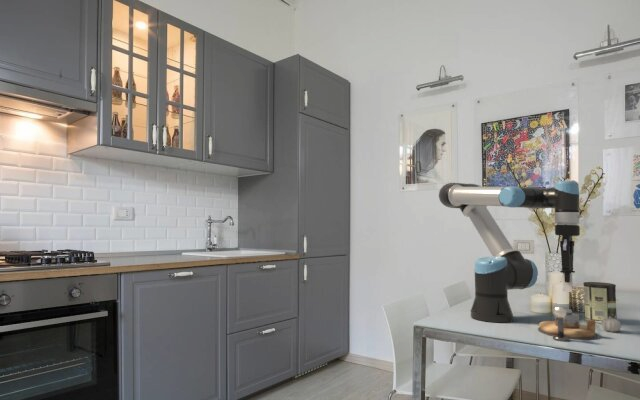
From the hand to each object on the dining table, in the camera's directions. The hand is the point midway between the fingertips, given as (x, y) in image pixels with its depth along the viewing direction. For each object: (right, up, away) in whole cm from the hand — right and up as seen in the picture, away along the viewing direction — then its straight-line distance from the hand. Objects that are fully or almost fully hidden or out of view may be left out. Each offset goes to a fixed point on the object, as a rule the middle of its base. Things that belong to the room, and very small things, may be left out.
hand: (567, 291), depth 145 cm
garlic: (+12, -13, -4) cm, 19 cm away
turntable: (-5, -12, -7) cm, 15 cm away
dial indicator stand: (-11, -12, -15) cm, 22 cm away
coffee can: (+20, -14, +12) cm, 27 cm away
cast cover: (-4, -10, -7) cm, 13 cm away
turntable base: (-5, -12, -7) cm, 15 cm away
